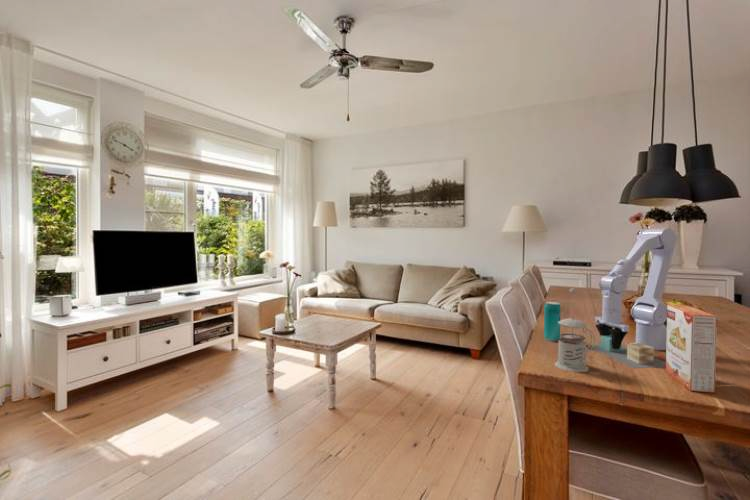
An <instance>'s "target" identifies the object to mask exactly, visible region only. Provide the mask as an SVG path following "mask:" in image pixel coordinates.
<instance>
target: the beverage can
mask: <svg viewBox="0 0 750 500" xmlns="http://www.w3.org/2000/svg"><path fill="white" fill-rule="evenodd" d="M560 304H561V303H560V302H558V301H545V305H544V311H543V313H544V314H543V315H544V317H543V318H544V319H543V336H544V339H545V340H546V341H549V342H559V338H561V337H560V334H561V325H559V323H558V322H559V321H561V310H562V307H561V306H560Z"/></svg>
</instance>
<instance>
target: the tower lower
mask: <svg viewBox="0 0 750 500" xmlns="http://www.w3.org/2000/svg"><path fill="white" fill-rule="evenodd" d="M654 358H655V357H654V356H638V355H635V354H633V353H631V352H628V351H627V359H629V360H632V361H634V362H636V363H638V364H645V363H653V360H654Z"/></svg>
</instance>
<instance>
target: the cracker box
mask: <svg viewBox="0 0 750 500" xmlns="http://www.w3.org/2000/svg"><path fill="white" fill-rule="evenodd" d="M666 305H667V319H666V327H667V343H666V350H665V352H666V353H665V354H666V355H665V357H666V358H665V362H666V367H665V372H666V374H668V375H670V376H671V377H672V378H673V379H675V380H676V381H678V382H679V383H680V384H681V385H682V386H684V387H685V388H686V389H687V390H689V391H690V392H700V393H709V394H715V393H716V374H717V373H716V372H717V370H716V367H717V366H716V364H717V363H716V362H717V338H718V337H717V336H718V335H717V334H718V331H717V329H718V316H717V315H715V314H712V313H709V312H706V311H704V310H701V309H699V308H696V307H693V306H691V305H678V304H669V305H668V304H666Z"/></svg>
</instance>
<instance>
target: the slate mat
mask: <svg viewBox="0 0 750 500" xmlns="http://www.w3.org/2000/svg"><path fill="white" fill-rule="evenodd" d="M588 346H589V345H586V348H587V347H588ZM592 346H593V345H590V347H589V348H590V349H591V348H592ZM589 348H588V349H589ZM591 350H594V351H595V352H599V353H601V354H603V355H605V356H607V357H609V358H611V359H614V360H616V361H617V362H620V363H622V364H623V365H624V364H625V365H627V366H629V367H631V368H633V369H651V368H652V369H653V368H656V369H657V368H666V361H663V360H660V359H658V358H656V357H654V360H653V363H645V364H638V363H636V362H634V361H632V360H629V359H627V345H626V346H625V345H623V344H621V351H614V352H609V351H607V350H604V349H602V348H601V344H600V345H599V344H598V345H596V344H594V346H593V348H592V349H591Z"/></svg>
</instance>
